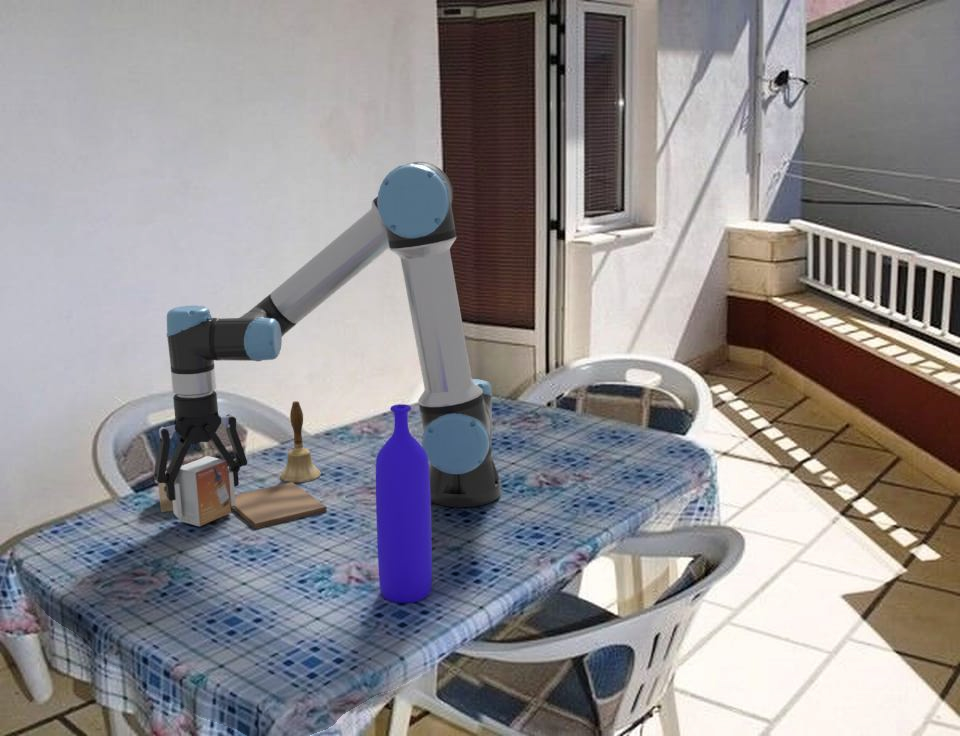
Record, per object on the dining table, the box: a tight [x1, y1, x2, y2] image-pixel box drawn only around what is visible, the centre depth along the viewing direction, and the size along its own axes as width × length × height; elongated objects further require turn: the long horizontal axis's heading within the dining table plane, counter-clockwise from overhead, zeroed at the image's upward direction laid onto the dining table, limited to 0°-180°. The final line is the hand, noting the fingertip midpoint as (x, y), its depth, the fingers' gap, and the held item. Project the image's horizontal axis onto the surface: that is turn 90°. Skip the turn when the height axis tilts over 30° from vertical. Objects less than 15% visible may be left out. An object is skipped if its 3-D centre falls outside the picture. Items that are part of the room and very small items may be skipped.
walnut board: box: [231, 482, 328, 529], centre depth 185 cm, size 16×14×1 cm
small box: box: [176, 455, 232, 527], centre depth 178 cm, size 8×6×10 cm
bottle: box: [375, 403, 433, 604], centre depth 146 cm, size 8×8×30 cm
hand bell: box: [280, 400, 322, 484], centre depth 199 cm, size 8×8×16 cm
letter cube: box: [157, 470, 173, 513], centre depth 185 cm, size 6×6×6 cm
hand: (205, 509), depth 179 cm, fingers closed on small box, 9 cm apart
